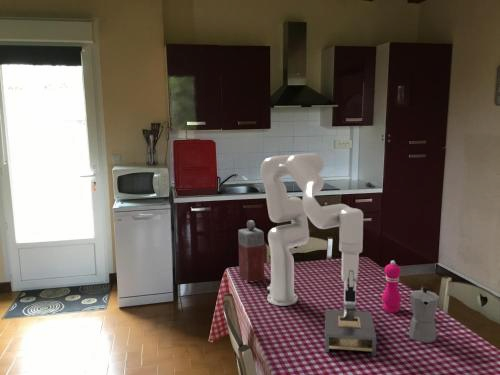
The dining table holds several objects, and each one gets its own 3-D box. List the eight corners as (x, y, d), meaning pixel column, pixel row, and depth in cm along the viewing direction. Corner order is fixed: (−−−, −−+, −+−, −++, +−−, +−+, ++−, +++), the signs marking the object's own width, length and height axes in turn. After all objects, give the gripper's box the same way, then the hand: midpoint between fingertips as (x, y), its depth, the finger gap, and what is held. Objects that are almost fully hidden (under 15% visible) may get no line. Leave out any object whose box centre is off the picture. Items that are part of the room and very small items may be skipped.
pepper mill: (401, 314, 171) (404, 264, 167) (382, 312, 172) (384, 263, 169) (399, 305, 178) (401, 257, 174) (380, 304, 179) (382, 257, 176)
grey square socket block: (325, 326, 162) (325, 308, 161) (370, 328, 160) (370, 311, 159) (325, 352, 145) (325, 333, 144) (375, 356, 142) (376, 336, 141)
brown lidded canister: (268, 278, 208) (268, 220, 203) (247, 283, 203) (246, 223, 199) (259, 272, 216) (259, 216, 211) (239, 276, 211) (237, 219, 206)
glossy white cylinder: (340, 316, 151) (340, 277, 149) (348, 312, 154) (349, 274, 151) (349, 320, 148) (350, 281, 145) (358, 317, 150) (359, 277, 148)
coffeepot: (439, 347, 146) (442, 296, 143) (408, 343, 149) (411, 293, 146) (434, 326, 161) (437, 278, 158) (407, 322, 164) (409, 276, 161)
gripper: (338, 238, 155) (337, 288, 158) (340, 253, 139) (339, 308, 142) (360, 239, 154) (359, 289, 157) (364, 254, 138) (363, 309, 141)
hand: (349, 297), depth 150 cm, fingers closed on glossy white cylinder, 4 cm apart
